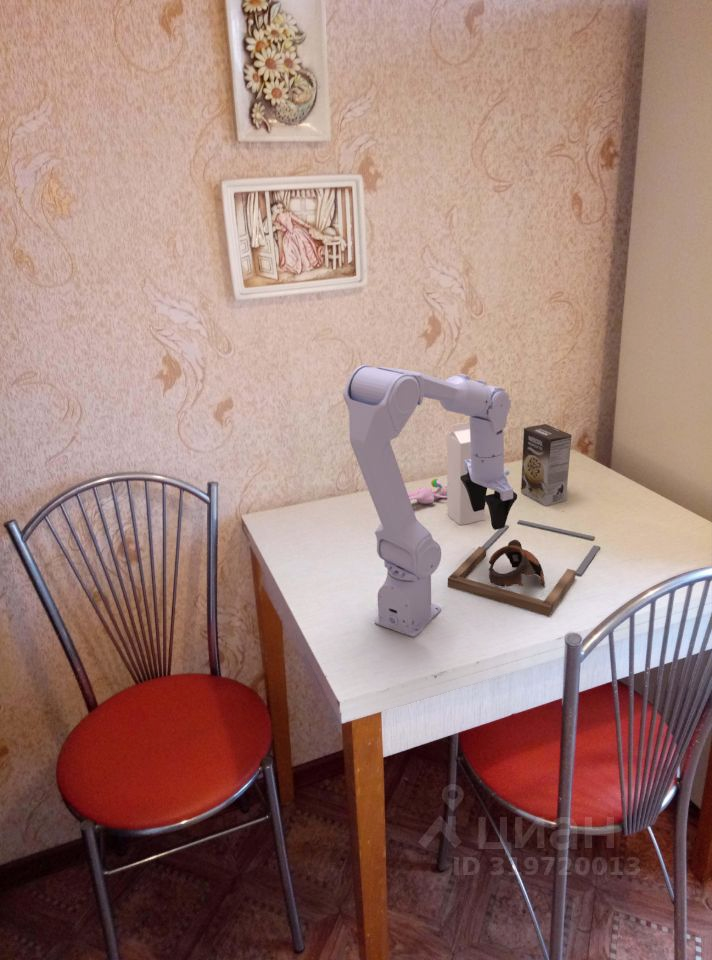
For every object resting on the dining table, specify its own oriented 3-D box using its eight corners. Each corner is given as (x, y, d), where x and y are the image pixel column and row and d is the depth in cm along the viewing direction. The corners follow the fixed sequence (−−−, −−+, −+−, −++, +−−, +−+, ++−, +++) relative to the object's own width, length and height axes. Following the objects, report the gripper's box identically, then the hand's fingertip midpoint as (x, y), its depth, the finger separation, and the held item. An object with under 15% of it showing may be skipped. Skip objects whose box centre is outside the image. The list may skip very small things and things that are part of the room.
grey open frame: (580, 576, 125) (581, 574, 125) (479, 550, 136) (479, 548, 136) (605, 540, 137) (605, 538, 136) (510, 519, 147) (510, 517, 147)
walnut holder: (549, 616, 114) (549, 607, 113) (447, 586, 124) (447, 578, 124) (575, 579, 124) (575, 570, 123) (479, 554, 134) (479, 546, 134)
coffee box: (519, 492, 160) (522, 427, 153) (541, 486, 162) (545, 422, 156) (544, 507, 152) (549, 439, 146) (567, 500, 154) (572, 433, 148)
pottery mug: (553, 598, 120) (535, 569, 116) (503, 614, 123) (484, 587, 119) (541, 550, 129) (524, 522, 125) (495, 567, 133) (477, 540, 129)
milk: (446, 515, 151) (445, 420, 143) (471, 509, 153) (471, 416, 144) (460, 526, 146) (460, 428, 137) (485, 520, 148) (486, 423, 139)
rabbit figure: (444, 495, 164) (393, 502, 156) (447, 472, 162) (396, 478, 154) (461, 504, 159) (409, 512, 151) (464, 480, 157) (412, 486, 149)
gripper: (529, 461, 114) (528, 531, 120) (487, 433, 127) (488, 497, 133) (491, 470, 112) (492, 540, 118) (453, 441, 125) (456, 506, 131)
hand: (488, 518), depth 125 cm, fingers open, 7 cm apart
